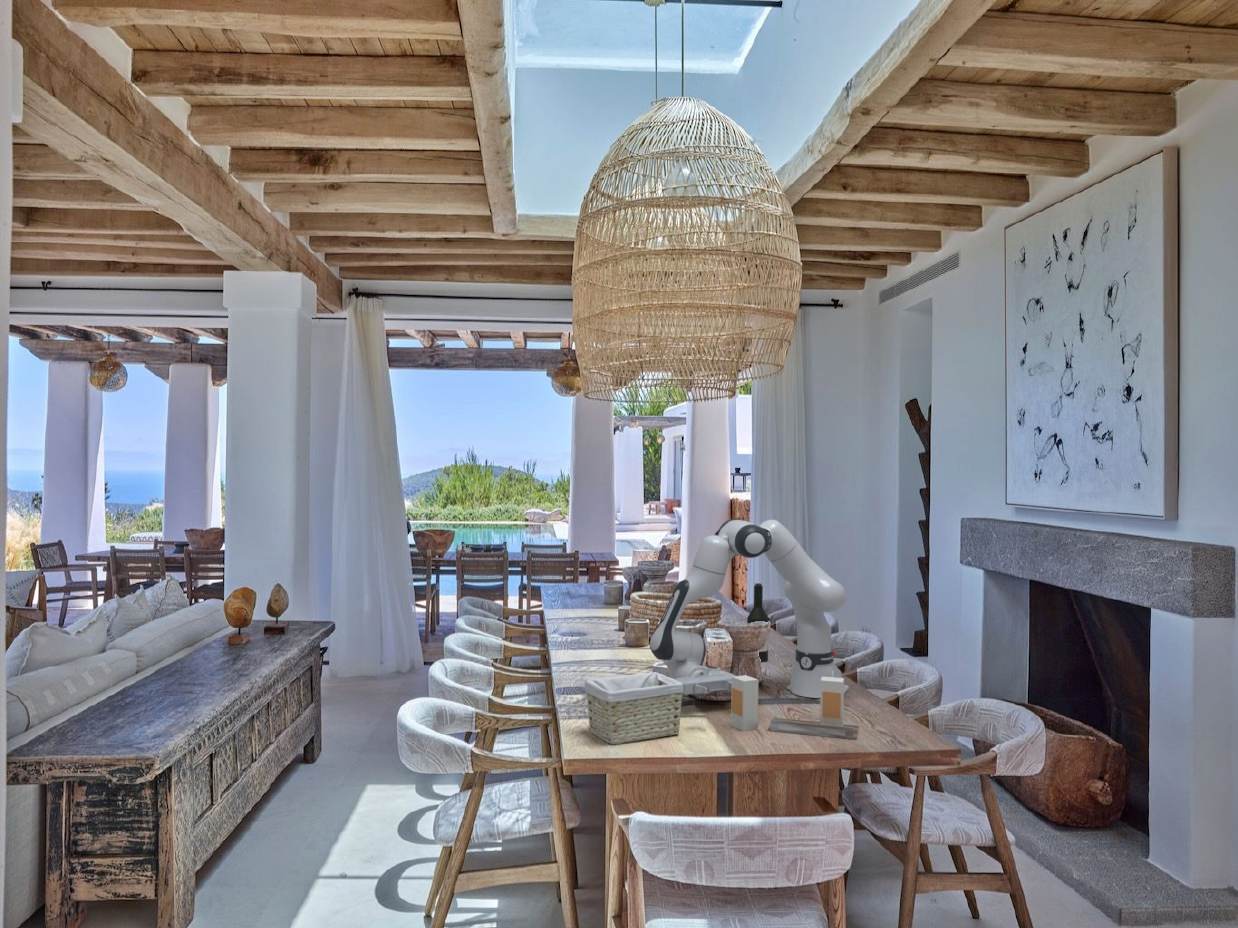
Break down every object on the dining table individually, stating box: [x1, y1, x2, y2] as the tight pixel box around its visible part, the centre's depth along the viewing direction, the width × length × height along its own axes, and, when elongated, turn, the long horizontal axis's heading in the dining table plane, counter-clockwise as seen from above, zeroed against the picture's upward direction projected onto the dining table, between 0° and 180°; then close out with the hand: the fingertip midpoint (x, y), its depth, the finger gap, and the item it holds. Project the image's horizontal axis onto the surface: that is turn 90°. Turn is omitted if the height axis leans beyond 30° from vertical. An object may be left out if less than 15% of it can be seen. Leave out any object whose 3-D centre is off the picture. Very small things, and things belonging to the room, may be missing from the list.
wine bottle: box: [746, 583, 769, 663], centre depth 342 cm, size 8×8×30 cm
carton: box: [819, 677, 845, 726], centre depth 243 cm, size 5×6×14 cm
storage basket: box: [584, 671, 684, 745], centre depth 242 cm, size 24×16×15 cm
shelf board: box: [766, 717, 860, 741], centre depth 244 cm, size 14×24×4 cm, turn 72°
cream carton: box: [730, 674, 759, 732], centre depth 249 cm, size 5×6×14 cm
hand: (720, 689), depth 260 cm, fingers open, 8 cm apart
